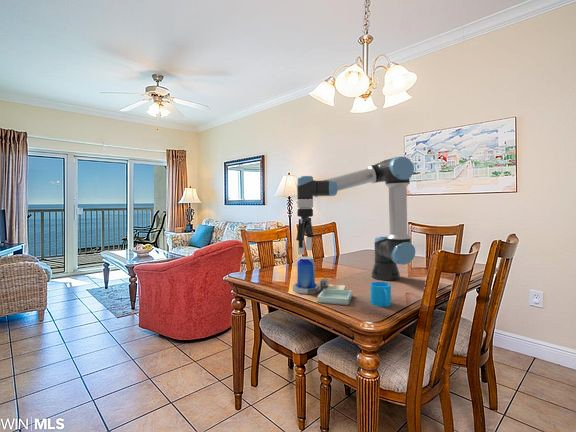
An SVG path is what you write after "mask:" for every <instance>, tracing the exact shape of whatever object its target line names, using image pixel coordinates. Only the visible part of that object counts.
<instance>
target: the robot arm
mask: <svg viewBox="0 0 576 432" xmlns="http://www.w3.org/2000/svg"><path fill="white" fill-rule="evenodd" d="M414 172H415V167H414V164H413V162H412V161H411V160H410V159H409V158H408V157H406V156H395V157H394V156H393V157H392V158H388V159H384V160H382V161H380V162H378V163H376V164H372V165H369V166H367V168H365V169H360V170H358V171H353V172H350V173H346V174H343V175H339V176H335V177H331V178H327V179H324V180H323V179H322V180H314V177H313V176H312V175H302V176H301V175H300V176H298V177H297V183H296V187H297V188H296V189H297V190H296V192H297V193H296V194H297V195H296V196H297V197H296V198H297V201H296V202H295V203H296V204H297V205H296V206H297V212H296V213H297V217H299V219H298V225H297V226H298V227H297V234H296V240H295V241H298V242H297V250H298V253H297V254H298V255H302V256H303V255H305V250H306V251H312V244H313V243H312V238H314V232H313V226H312V225H313V224H312V217H313V216H314V209H313V208H314V197H315V198H317V197H334V196H337V194H338V192H339V191H343V190H347V189H350V188H354V187H355V188H356V187H358V186H362V185H366V184H370V183H371V184H375V183H376V184H377V183H383V182H385V186H386V187H387V188H388V212H389V213H388V215H389V216H388V217H389V234H388V236H376V237H374V243H373V244H374V264H373V267H372V270H371V277H372V279H375V280H380V281H397V280H400V279H401V276H400V275H401V274H400V271H399V267H398V265H403V266H404V265H408V264H410V263H411V262H412V261H413V260H414V259H415V256H416V248H415V246H414V245H413V244H412V242H411V239H412V237H411V236H410V235H409V234H408V202H407V201H408V199H407V198H408V195H407V192H408V191H407V187H408V186H409V185H410V180H411V177H412V176H413V175H414ZM305 235H306V237H305ZM304 239H305V240H304Z"/></svg>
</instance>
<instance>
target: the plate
mask: <svg viewBox="0 0 576 432" xmlns="http://www.w3.org/2000/svg"><path fill="white" fill-rule="evenodd" d="M327 289H338V290H346V285H342V284H341V285H340V284H329V283H328V287H327Z"/></svg>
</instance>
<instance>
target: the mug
mask: <svg viewBox="0 0 576 432" xmlns="http://www.w3.org/2000/svg"><path fill="white" fill-rule="evenodd" d="M391 297H392V284H391V283H389V282H386V281H372V282H371V283H370V304H371V306H372V305H373V306H375V307H380V306H381V307H390V306H391V304H392V299H391Z"/></svg>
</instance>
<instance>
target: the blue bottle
mask: <svg viewBox="0 0 576 432" xmlns="http://www.w3.org/2000/svg"><path fill="white" fill-rule="evenodd" d="M315 263H316V262H315V260H314V259H313V256H299V258H298V260H297V263H296V264H297V265H296V267H297V276H296V277H297V283H298V287H299V288H313V287H315V283H316V280H315V279H316V276H315V275H316V272H315V271H316V270H315V269H316V267H315Z"/></svg>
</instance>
